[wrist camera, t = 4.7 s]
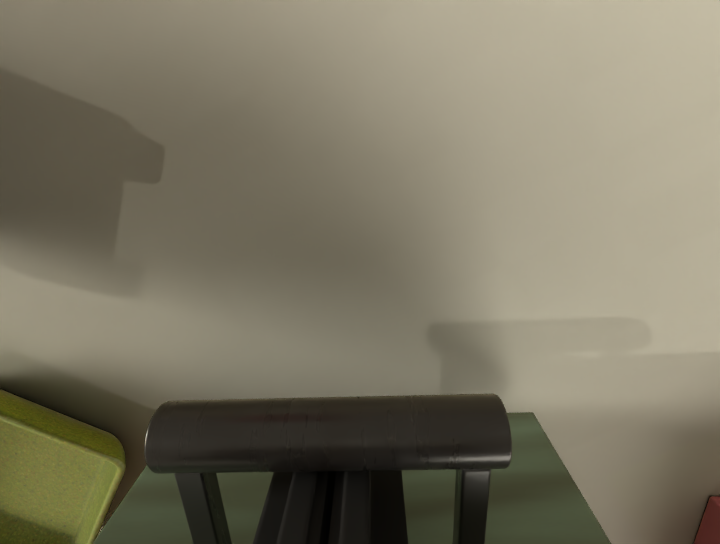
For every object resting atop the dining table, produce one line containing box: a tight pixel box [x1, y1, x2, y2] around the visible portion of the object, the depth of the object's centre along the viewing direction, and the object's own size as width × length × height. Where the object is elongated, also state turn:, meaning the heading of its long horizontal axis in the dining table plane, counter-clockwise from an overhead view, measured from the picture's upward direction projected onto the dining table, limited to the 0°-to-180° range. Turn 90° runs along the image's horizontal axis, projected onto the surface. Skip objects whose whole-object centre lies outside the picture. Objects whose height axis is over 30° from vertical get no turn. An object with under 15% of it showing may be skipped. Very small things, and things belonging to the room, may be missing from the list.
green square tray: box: [0, 389, 126, 544], centre depth 16 cm, size 9×9×2 cm
